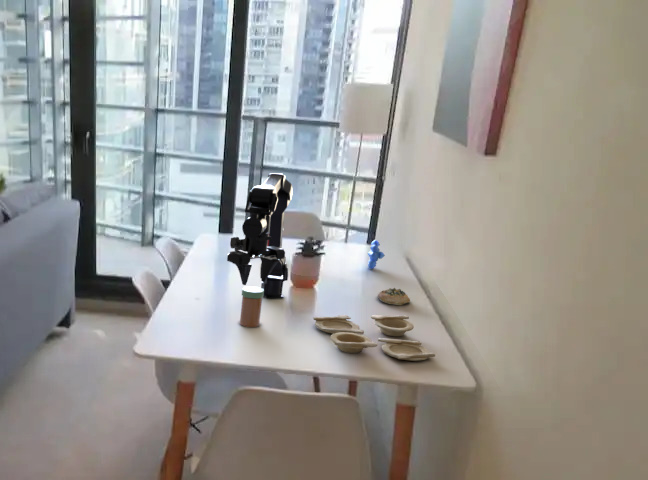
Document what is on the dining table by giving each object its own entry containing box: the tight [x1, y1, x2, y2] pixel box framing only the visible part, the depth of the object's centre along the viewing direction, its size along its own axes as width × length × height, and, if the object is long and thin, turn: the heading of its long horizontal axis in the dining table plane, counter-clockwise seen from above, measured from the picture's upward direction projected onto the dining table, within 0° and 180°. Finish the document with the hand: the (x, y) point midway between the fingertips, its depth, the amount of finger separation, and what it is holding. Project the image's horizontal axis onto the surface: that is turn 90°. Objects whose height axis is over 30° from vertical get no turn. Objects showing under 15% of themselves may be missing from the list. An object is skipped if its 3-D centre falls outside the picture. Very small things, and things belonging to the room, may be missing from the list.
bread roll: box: [377, 287, 411, 306], centre depth 250 cm, size 11×11×5 cm
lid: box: [241, 285, 264, 299], centre depth 217 cm, size 7×7×2 cm
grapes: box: [367, 239, 386, 270], centre depth 289 cm, size 12×7×12 cm, turn 160°
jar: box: [239, 295, 263, 328], centre depth 219 cm, size 6×6×11 cm
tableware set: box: [312, 314, 436, 362], centre depth 211 cm, size 35×29×4 cm
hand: (253, 283), depth 216 cm, fingers open, 7 cm apart
